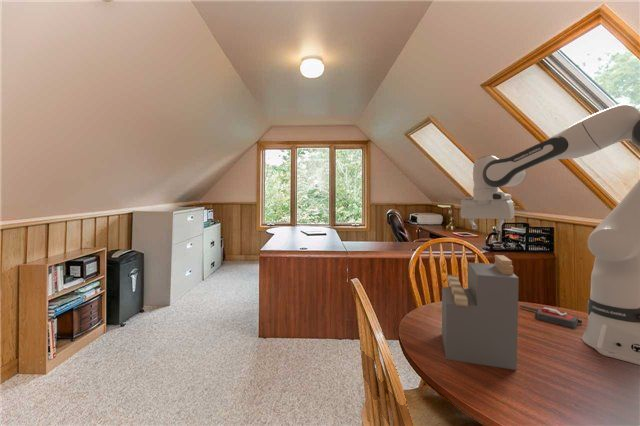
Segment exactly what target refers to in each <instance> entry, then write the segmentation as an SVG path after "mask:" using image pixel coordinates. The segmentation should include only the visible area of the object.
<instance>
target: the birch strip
mask: <svg viewBox="0 0 640 426" xmlns="http://www.w3.org/2000/svg"><path fill="white" fill-rule="evenodd" d="M447 282H448V285H449V286H448V287H450V289H451V292H452V295H453V298H454V301H455V304H456V305H458V306H468V299H467V297H466V295H465V293H464V291H463V288H464V287H463V286H462V284H461V282H460V280H459V278H458V276H457V275H456V274H447Z"/></svg>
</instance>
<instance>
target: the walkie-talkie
mask: <svg viewBox="0 0 640 426" xmlns="http://www.w3.org/2000/svg"><path fill="white" fill-rule="evenodd" d="M519 307H520V308H523V309H526V310H530V311H534V316H535V317H536V320H539V321H543V322H546V323H551V324H554V325H559V326H563V327H567V328H570V329H576V328H577V325H578V324H582V323H583V321H582V320H580V319H579V317H578V316H574V315H569V314H568V312H564V313H562V312H560V310H558V309H556V308H552V307H551V308H550V307H546V306H544V307H542V308H535V307H531V306H526V305H522V304H520V305H519Z"/></svg>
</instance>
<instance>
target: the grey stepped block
mask: <svg viewBox="0 0 640 426" xmlns="http://www.w3.org/2000/svg"><path fill="white" fill-rule="evenodd" d="M512 264H513V260H511V259H510V258H509V257H507V256H506V255H504V254H502V255H501V254H495V255H494V263H485V262H483V263H482V262H470V261H469V262H468V263H467V288H464V287H462V288H463V291H464V293H465V295H466V297H467V299H468V306H458V305H456V304H455V301H454V298H453V295H452V292H451V289H450V286H442V287H441V337H442V338H441V339H442V344H443V350H444V355H445V360H450V361H456V362H462V363H467V364H475V365H481V366H487V367H488V366H489V367H494V368H502V369H507V370H515V371H517V370H518V369H517V367H518V364H517V363H518V362H517V360H518V331H519V330H518V327H519V325H518V323H519V319H518V318H519V281H520V280H519V279H520V278H519V276H517V275H516V274H515V273H514V265H512Z"/></svg>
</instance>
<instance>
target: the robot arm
mask: <svg viewBox="0 0 640 426" xmlns="http://www.w3.org/2000/svg"><path fill="white" fill-rule="evenodd" d="M624 141H629V142H632V143H634V144H635V145H636V146H637V147H638V148H640V111H639V109H638V108H636V107H634V106H632V105H630V104H627V103H621V104H617V105H614V106H611V107H609V108H606V109H604V110H601V111H598V112H596V113H594V114H591V115H589V116H587V117H585V118H583V119H581V120H579V121H577V122H575V123H574V124H572V125H570V126H568V127H567V128H565V129H563V130H562V131H560V132H558V133H556V134H554V135H552V136H551V137H549V138H547V139H545V140H543V141H541V142H539V143H537V144H534V145H533V146H531V147H529V148H527V149H524V150H523V151H520V152H518V153H516V154H514V155H511V156H509V157H506V158H498V157H496V156H495V155H485V156H481V157H479V158H478V159H477V158H476V159H475V161H474V163H473V168H472V170H473V171H472V181H473V187H472V188H473V189H472V191H473V193H472V195H473V196H470V197H469V196H465V197H464V198H462V199H461V200H460V217H461V218H462V219H468V221H469V223H470V225H471V230H478V224H476V223H475V220H476V219H481V220H482V219H489V220H491V219H495V220H497V222H498V224H497V225H495V226H494V228H495V231H502V225H504V224H505V220H512V219H514V218H515V215H516V214H515V213H516V212H515V206H514V202H513V201H512V198H513V197H512V194H510V193H506V192H501V191H499V188H500V187H506V188H507V187H515V186H518V185H520V184H522V183H523V182H524V181H525V179H526V176H527V171H528V170H529V169H531V168H534V167H535V166H537V165H540V164H543V163H545V162H549V161H554V160H567V159H570V160H571V159H578V158H581V157H584V156H589V155H591V154H594V153H596V152H598V151H601V150H603V149H605V148H608V147H609V146H612V145H615V144H617V143H620V142H624ZM587 248H588V249H589V251H590V253H591V254H592V255H593V256H595V258H594V262H593V267H592V270H591V274H590V275H591V277H590V296H589V297H588V300H587V316H588V318H587V322H586V323H587V324H586V327H585V330H584V332H583V335H582V337H581V339H582V341H583V343H585V344H586V345H587V346H590V348H593V349H594V350H596V351H597V352H598V353H600V354H601V355H602V356H605V357H610V358H612V359H615V360H621V361H624V362H627V363H632V364H635V365H638V366H640V179H639V180H638V181H637V182H636V183H635V184H634V186H633V187H632V188H631V189H630V191H628V192H627V194H626V195H625V196H624V197H623V199H622V200H621V201H620V202H619V203H618V204H617V205H616V206H614V208H613V209H612V210H611V211H610V212H609V213H608V214H607V215H606V217H604V218H603V220H601V221H600V222H599V224H598V225H597V226H596V227H595V228H594V229H593V230H592V232H591V233H590V234H589V236H588V238H587Z"/></svg>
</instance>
